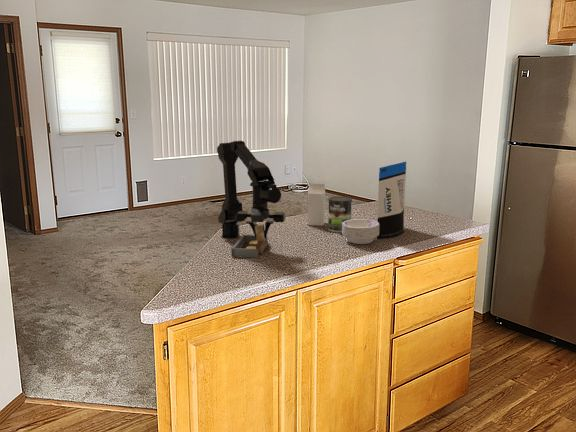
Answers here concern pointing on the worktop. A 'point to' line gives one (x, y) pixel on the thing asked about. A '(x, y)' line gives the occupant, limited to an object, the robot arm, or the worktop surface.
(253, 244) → the tan square block
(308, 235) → the worktop surface
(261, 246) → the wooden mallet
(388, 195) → the protein powder
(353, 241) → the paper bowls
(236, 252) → the tray
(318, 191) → the milk carton
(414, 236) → the worktop surface
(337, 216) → the coffee can
